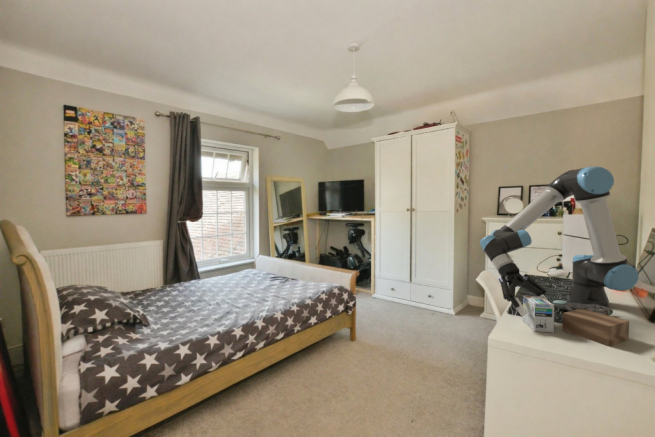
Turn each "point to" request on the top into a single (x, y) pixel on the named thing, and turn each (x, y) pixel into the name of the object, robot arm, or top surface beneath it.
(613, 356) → the top surface
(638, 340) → the top surface
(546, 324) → the light bulb box
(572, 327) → the walnut block
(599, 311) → the toy aircraft
